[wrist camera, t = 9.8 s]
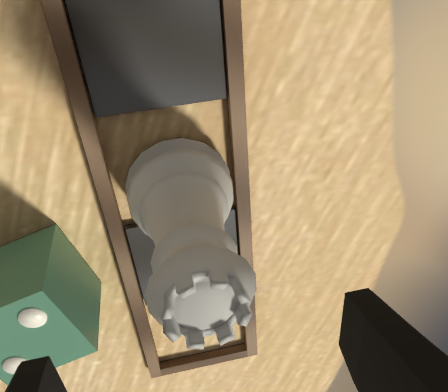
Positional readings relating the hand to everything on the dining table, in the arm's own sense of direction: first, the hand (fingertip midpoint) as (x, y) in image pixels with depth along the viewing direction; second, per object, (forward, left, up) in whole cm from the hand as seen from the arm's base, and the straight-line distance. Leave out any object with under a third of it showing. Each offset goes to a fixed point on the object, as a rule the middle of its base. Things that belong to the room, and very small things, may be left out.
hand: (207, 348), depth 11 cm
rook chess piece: (0, -1, -9) cm, 9 cm away
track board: (-1, -2, -9) cm, 10 cm away
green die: (-8, -2, -9) cm, 12 cm away
